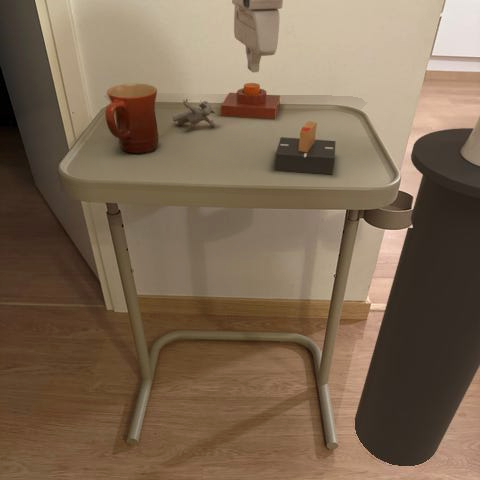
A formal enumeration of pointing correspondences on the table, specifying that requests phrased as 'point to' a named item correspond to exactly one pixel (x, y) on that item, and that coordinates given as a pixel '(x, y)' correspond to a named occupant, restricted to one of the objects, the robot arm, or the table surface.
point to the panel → (305, 157)
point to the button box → (250, 105)
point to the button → (251, 88)
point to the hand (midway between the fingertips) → (253, 70)
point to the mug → (133, 117)
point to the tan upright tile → (307, 136)
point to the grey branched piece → (195, 114)
